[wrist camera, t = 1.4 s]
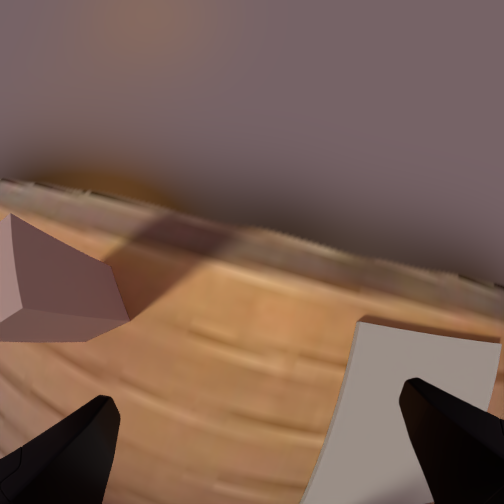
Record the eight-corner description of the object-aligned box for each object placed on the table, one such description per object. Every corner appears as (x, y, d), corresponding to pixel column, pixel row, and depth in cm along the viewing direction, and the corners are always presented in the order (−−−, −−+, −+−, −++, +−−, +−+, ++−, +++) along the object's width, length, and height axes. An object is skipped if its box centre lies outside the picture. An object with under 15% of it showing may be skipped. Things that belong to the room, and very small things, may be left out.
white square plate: (447, 494, 15) (450, 497, 15) (297, 508, 17) (298, 513, 16) (496, 344, 20) (501, 343, 19) (356, 321, 21) (360, 321, 20)
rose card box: (130, 320, 21) (22, 307, 9) (85, 341, 20) (-26, 339, 8) (110, 266, 22) (10, 213, 10) (68, 289, 22) (-36, 255, 10)
